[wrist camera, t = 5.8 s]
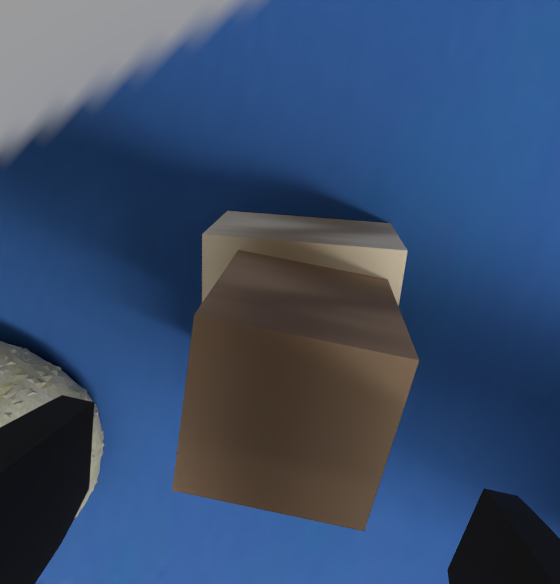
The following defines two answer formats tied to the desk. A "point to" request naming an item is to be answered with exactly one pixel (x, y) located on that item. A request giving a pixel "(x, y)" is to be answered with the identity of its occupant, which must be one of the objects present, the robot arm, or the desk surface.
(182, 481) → the walnut block
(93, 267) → the desk surface
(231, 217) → the beech base
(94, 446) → the sea urchin shell
